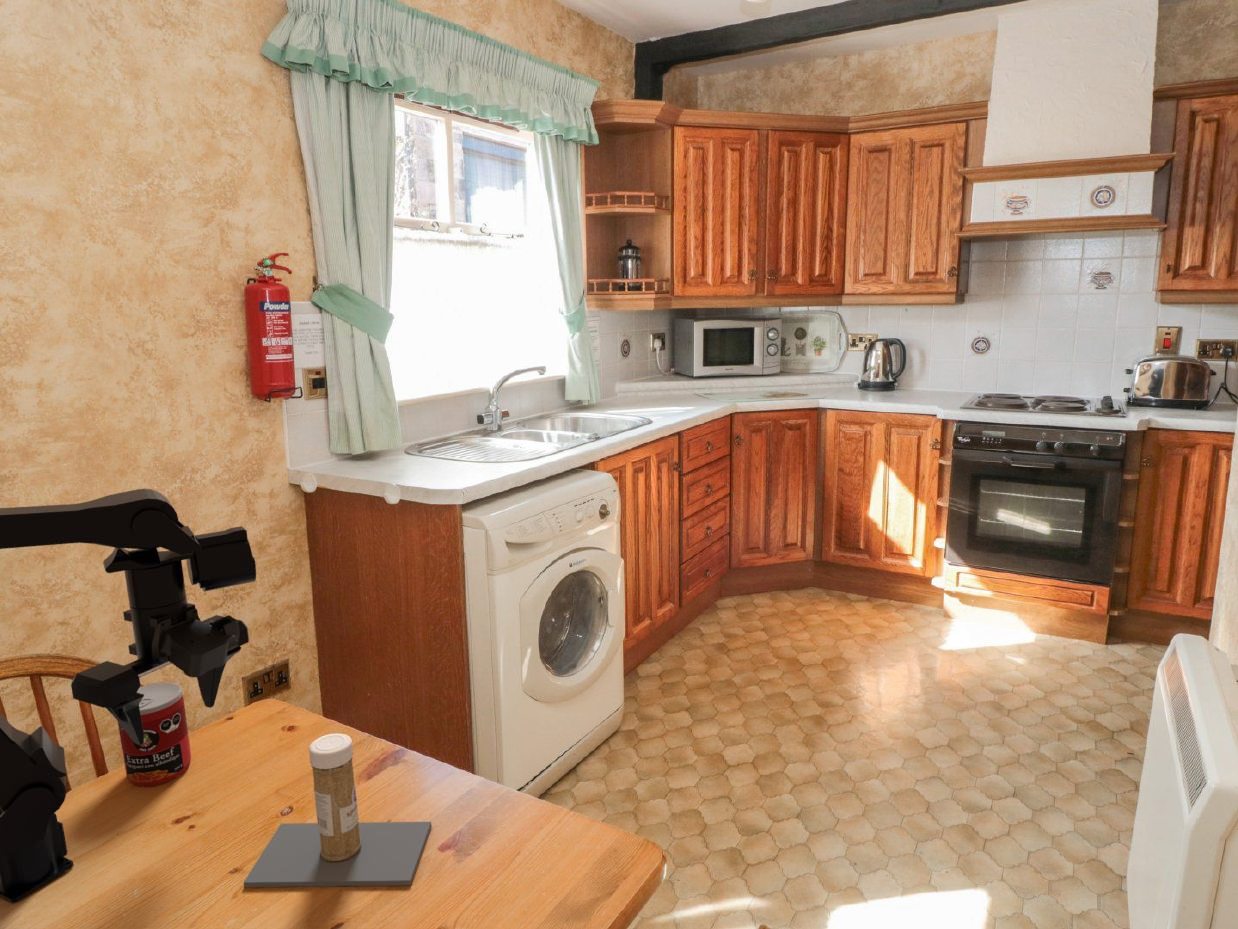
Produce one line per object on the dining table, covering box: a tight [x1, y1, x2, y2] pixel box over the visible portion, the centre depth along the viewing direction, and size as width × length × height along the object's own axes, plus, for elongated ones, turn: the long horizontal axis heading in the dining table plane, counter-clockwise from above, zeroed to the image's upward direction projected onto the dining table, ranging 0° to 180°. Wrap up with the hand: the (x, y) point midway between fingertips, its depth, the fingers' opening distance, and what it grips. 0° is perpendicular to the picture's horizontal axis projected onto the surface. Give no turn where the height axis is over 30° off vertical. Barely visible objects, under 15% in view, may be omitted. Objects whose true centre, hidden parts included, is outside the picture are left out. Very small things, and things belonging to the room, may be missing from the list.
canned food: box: [117, 682, 192, 788], centre depth 110 cm, size 8×8×11 cm
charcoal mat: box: [243, 821, 432, 888], centre depth 94 cm, size 18×10×1 cm, turn 90°
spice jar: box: [308, 733, 362, 861], centre depth 93 cm, size 5×5×14 cm
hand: (176, 724), depth 98 cm, fingers open, 9 cm apart
